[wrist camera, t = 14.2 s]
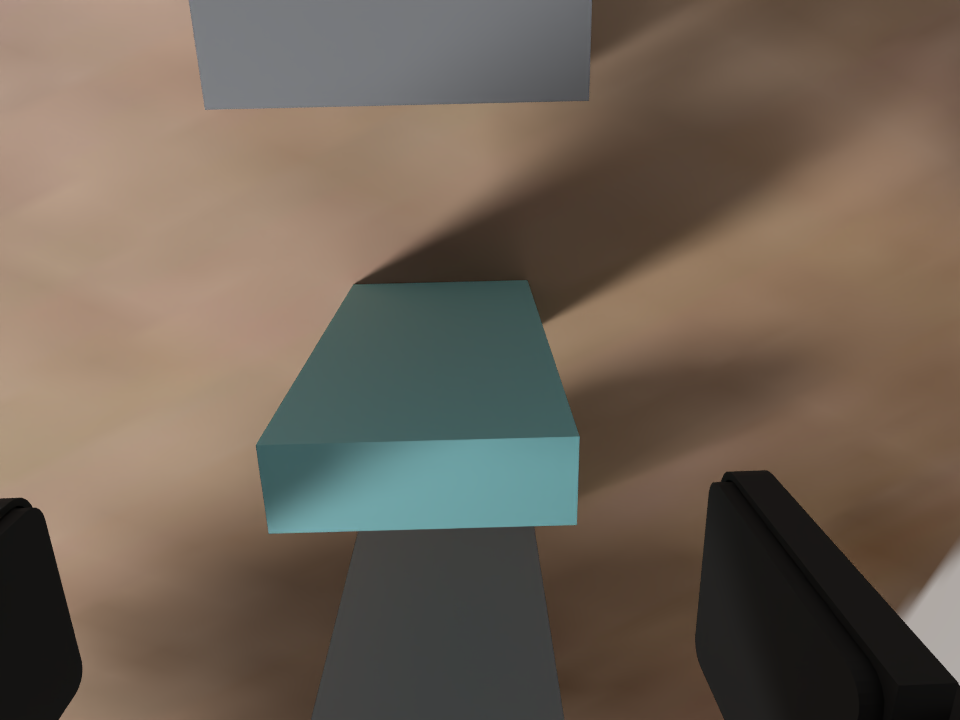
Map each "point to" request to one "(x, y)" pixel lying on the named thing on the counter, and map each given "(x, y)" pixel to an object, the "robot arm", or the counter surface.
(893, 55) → the counter surface
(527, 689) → the domino
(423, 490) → the domino
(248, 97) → the domino
